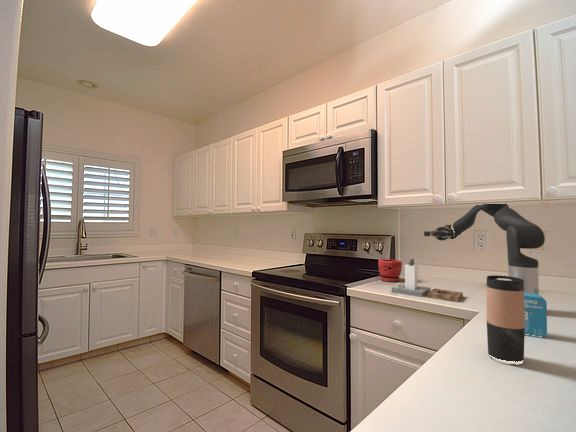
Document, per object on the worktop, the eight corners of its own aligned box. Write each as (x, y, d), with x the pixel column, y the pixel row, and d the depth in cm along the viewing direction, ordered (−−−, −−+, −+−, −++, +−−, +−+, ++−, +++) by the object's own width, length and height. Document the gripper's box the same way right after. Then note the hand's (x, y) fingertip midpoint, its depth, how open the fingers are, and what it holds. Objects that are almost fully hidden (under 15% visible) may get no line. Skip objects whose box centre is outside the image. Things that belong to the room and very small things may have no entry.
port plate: (430, 291, 145) (430, 286, 145) (422, 297, 134) (422, 291, 134) (401, 287, 154) (401, 282, 154) (391, 292, 143) (391, 286, 143)
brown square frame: (462, 296, 135) (462, 292, 135) (457, 302, 126) (457, 297, 126) (434, 292, 143) (434, 288, 143) (427, 297, 134) (427, 292, 134)
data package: (497, 331, 92) (496, 292, 92) (495, 326, 96) (495, 289, 96) (547, 339, 86) (546, 297, 86) (543, 333, 90) (542, 294, 90)
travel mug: (526, 358, 74) (525, 277, 74) (524, 369, 68) (523, 282, 68) (489, 349, 79) (488, 274, 79) (484, 359, 73) (483, 278, 73)
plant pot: (397, 283, 164) (397, 262, 164) (374, 280, 172) (374, 260, 172) (405, 280, 174) (405, 259, 174) (383, 277, 182) (383, 258, 183)
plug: (417, 291, 144) (417, 259, 145) (414, 293, 141) (414, 260, 141) (408, 290, 147) (407, 258, 148) (405, 292, 144) (405, 259, 144)
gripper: (429, 226, 170) (421, 226, 158) (457, 227, 161) (450, 227, 149) (429, 239, 170) (421, 240, 158) (457, 240, 161) (451, 242, 148)
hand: (435, 234), depth 153 cm, fingers open, 8 cm apart
